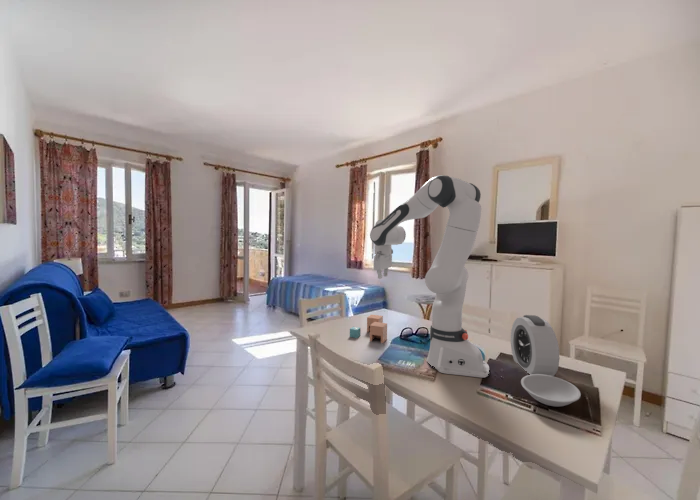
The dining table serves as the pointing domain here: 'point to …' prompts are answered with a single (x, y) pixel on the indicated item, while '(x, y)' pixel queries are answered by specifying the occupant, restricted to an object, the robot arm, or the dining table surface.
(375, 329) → the brown box with opening
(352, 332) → the letter cube
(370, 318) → the tan box with door
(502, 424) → the dining table surface
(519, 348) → the alarm clock
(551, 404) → the dish
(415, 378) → the dining table surface
